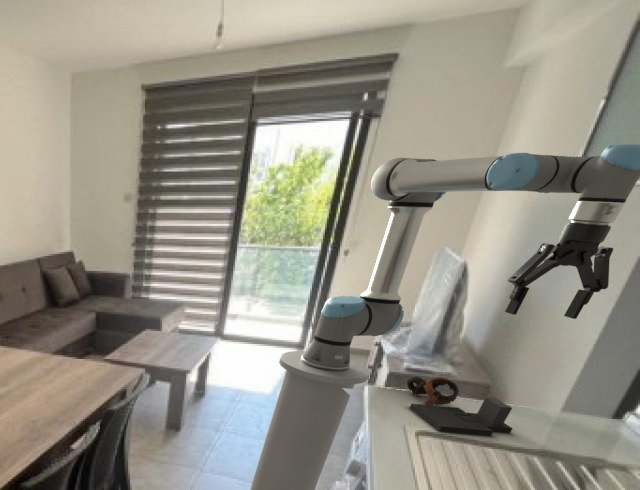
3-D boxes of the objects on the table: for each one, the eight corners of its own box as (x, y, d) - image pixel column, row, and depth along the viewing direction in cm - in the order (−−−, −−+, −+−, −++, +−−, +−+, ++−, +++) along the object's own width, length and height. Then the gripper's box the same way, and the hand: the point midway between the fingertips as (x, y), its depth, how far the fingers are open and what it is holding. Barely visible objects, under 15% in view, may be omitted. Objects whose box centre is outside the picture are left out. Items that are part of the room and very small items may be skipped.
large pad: (409, 408, 132) (411, 403, 131) (456, 412, 131) (458, 407, 130) (439, 431, 120) (441, 426, 119) (491, 436, 119) (494, 431, 118)
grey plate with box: (449, 416, 129) (460, 393, 125) (488, 419, 127) (500, 397, 124) (468, 429, 122) (480, 406, 118) (509, 433, 120) (523, 410, 117)
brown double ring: (447, 401, 139) (467, 383, 132) (436, 422, 136) (455, 406, 129) (404, 381, 144) (421, 363, 136) (392, 401, 140) (408, 384, 133)
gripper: (542, 221, 108) (496, 315, 118) (667, 227, 105) (608, 323, 115) (518, 219, 114) (476, 308, 124) (634, 224, 112) (582, 315, 122)
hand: (539, 315), depth 120 cm, fingers open, 13 cm apart
